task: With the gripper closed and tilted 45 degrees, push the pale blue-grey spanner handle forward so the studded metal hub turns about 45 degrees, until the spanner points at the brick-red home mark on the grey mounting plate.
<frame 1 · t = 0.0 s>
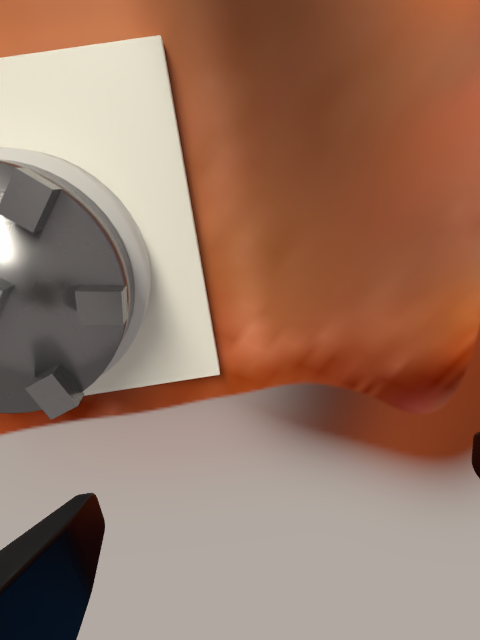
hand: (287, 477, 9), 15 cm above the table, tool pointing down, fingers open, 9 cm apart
mounting plate: (42, 269, 22), on the table
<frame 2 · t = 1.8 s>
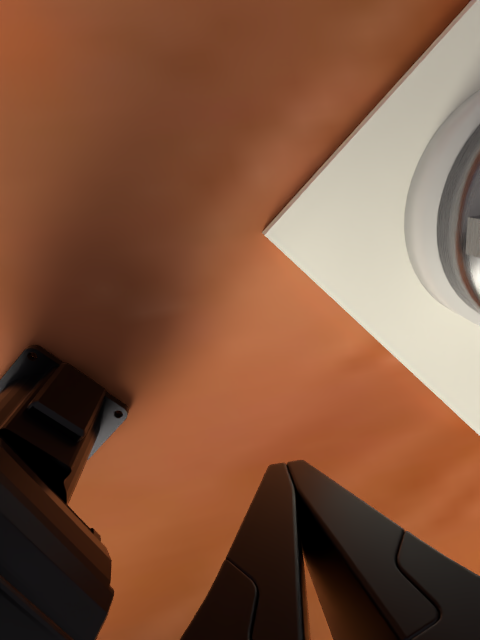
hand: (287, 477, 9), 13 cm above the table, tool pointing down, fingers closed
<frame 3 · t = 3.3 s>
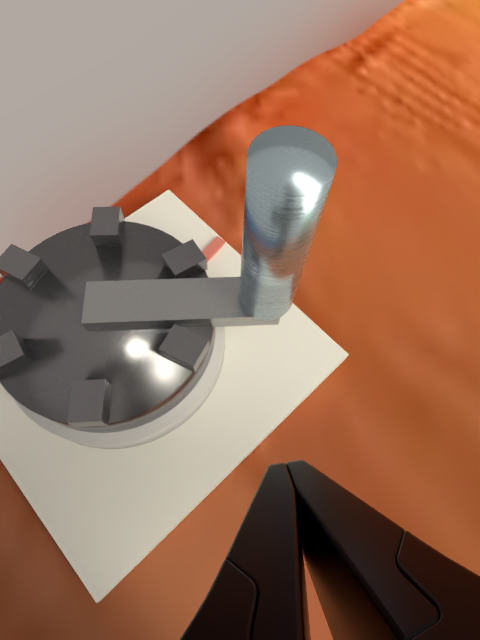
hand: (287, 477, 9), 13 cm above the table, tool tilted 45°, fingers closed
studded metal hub: (125, 271, 17), point 9 cm above the table, hinge at 0.0°
mounting plate: (127, 349, 25), on the table
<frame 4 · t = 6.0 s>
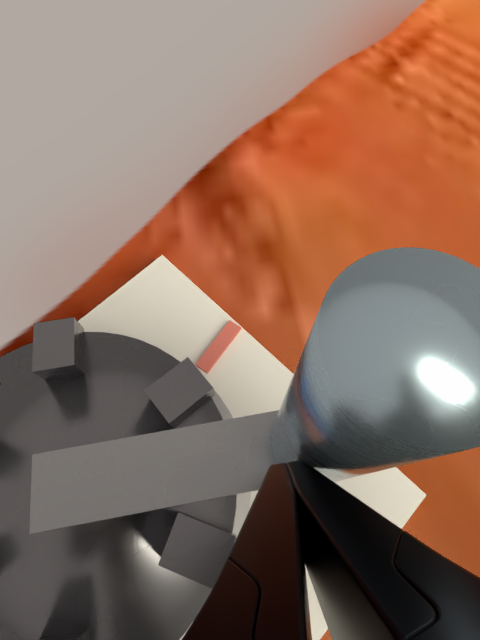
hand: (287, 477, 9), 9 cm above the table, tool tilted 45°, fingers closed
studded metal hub: (86, 470, 10), point 9 cm above the table, hinge at 5.0°, touching gripper
mounting plate: (114, 494, 18), on the table
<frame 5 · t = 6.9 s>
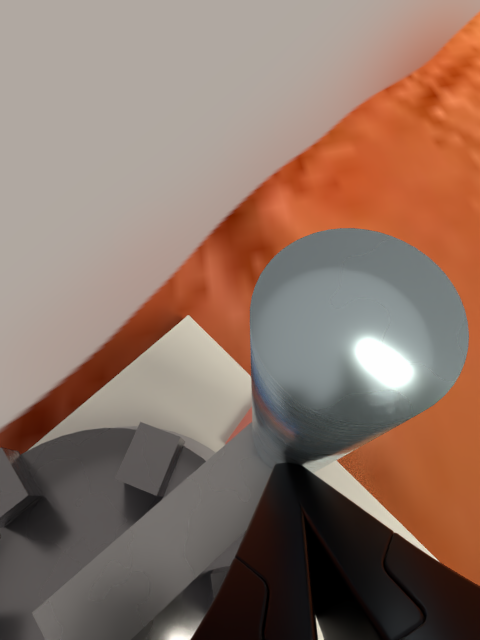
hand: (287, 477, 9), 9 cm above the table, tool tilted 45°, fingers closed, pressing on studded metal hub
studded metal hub: (99, 598, 9), point 9 cm above the table, hinge at 36.3°, touching gripper
mounting plate: (136, 588, 17), on the table
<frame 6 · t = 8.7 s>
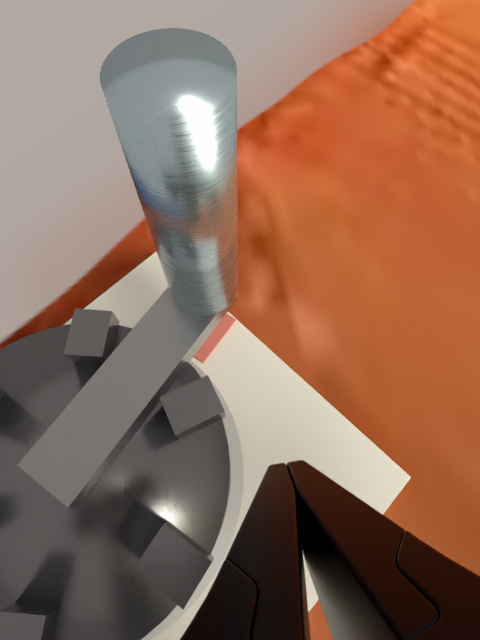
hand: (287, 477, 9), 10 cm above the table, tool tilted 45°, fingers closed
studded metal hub: (66, 402, 11), point 9 cm above the table, hinge at 50.6°
mounting plate: (113, 478, 19), on the table
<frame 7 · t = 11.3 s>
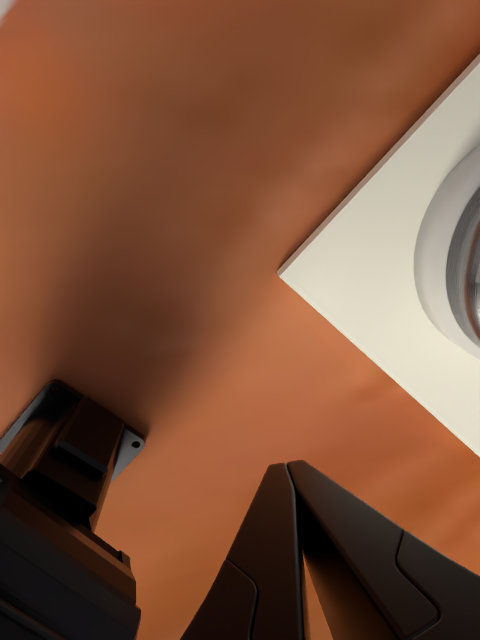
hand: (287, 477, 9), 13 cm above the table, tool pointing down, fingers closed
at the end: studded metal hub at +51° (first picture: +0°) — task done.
